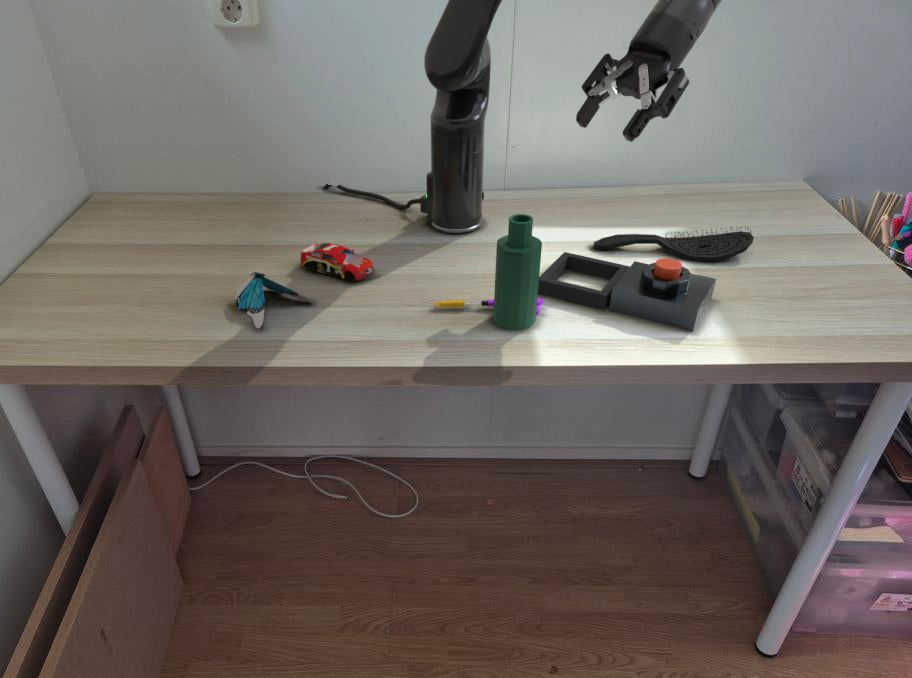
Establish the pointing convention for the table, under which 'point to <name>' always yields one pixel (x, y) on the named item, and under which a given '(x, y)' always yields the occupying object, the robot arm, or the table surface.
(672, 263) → the button
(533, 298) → the vase
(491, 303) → the purple yellow slender tool
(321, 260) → the race car
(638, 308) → the panel with orange knob
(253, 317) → the decorative butterfly
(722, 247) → the hairbrush
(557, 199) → the table surface
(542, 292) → the dock
